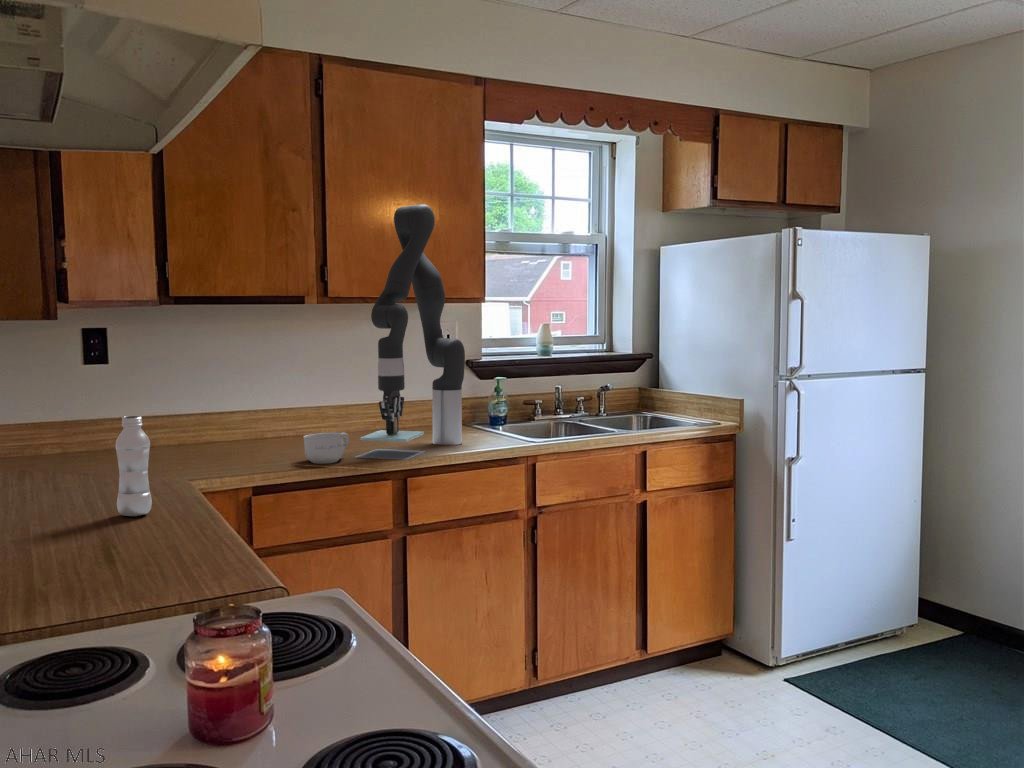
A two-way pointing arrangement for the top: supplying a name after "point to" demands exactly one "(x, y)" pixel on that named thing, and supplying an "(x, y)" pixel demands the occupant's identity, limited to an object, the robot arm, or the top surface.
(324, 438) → the teacup
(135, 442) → the plastic bottle
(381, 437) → the lid
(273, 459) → the top surface
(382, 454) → the mat
